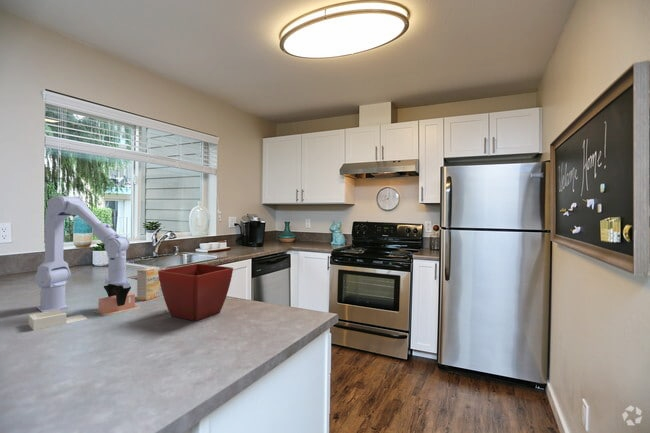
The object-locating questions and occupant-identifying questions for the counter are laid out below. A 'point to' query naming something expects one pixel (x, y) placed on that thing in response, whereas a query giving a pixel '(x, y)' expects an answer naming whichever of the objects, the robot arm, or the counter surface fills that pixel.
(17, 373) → the counter surface
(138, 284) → the supplement box
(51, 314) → the dispenser sleeve
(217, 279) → the plant pot
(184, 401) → the counter surface
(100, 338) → the counter surface
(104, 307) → the pink block
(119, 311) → the cork mat
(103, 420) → the counter surface
